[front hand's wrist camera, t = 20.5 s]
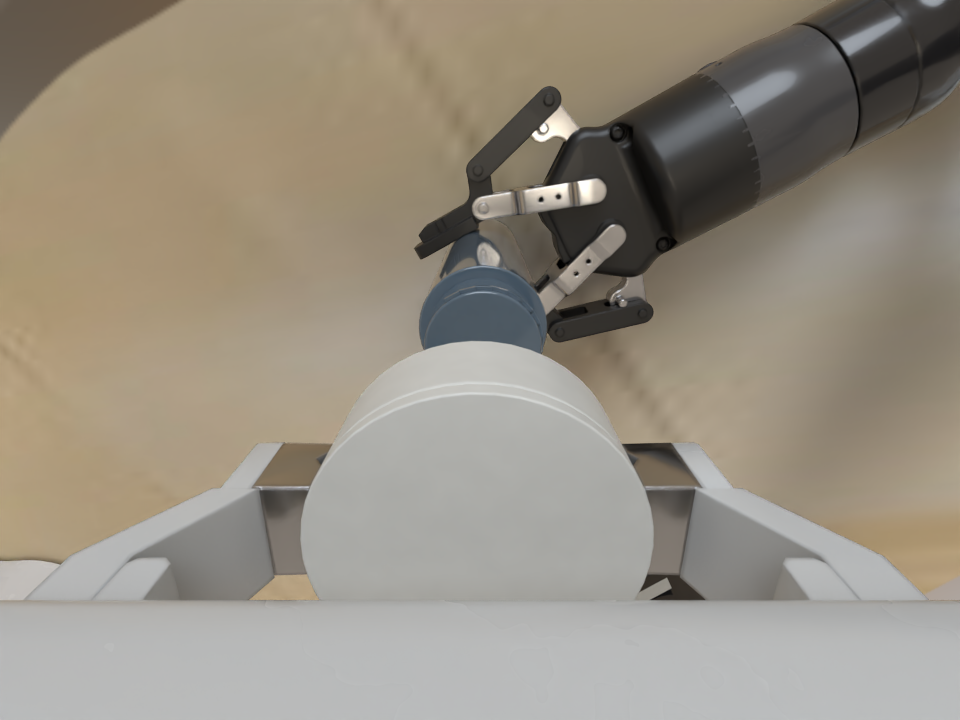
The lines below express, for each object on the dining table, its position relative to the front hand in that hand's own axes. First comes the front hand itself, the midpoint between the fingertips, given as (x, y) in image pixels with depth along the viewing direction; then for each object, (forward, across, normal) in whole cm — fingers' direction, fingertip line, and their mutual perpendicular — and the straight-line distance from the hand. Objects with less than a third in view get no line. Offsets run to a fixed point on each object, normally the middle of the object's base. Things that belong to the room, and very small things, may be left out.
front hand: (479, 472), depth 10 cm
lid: (-2, 0, 0) cm, 2 cm away
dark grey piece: (+27, 0, 0) cm, 27 cm away
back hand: (+20, -2, -1) cm, 21 cm away
